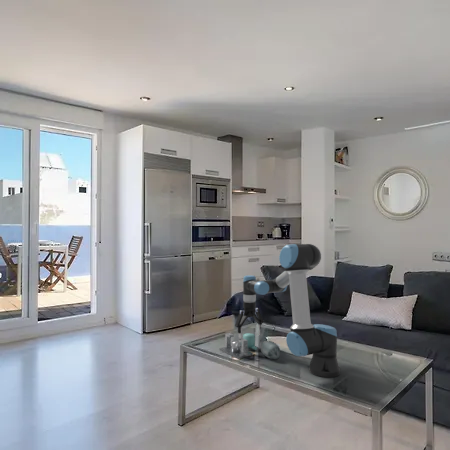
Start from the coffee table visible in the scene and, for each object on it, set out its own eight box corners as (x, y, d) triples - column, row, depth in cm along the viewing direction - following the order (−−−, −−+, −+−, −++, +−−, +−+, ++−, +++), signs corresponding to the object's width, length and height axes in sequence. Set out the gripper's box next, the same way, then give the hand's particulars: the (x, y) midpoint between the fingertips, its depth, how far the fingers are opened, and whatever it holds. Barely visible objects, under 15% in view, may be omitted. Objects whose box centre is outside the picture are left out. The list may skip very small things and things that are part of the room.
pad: (258, 348, 227) (258, 347, 227) (247, 350, 223) (247, 349, 223) (250, 344, 234) (250, 343, 234) (239, 346, 229) (239, 345, 229)
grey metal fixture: (253, 355, 215) (253, 339, 215) (237, 358, 208) (237, 342, 208) (234, 346, 229) (234, 331, 229) (219, 349, 223) (219, 334, 223)
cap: (260, 348, 225) (260, 336, 225) (251, 350, 221) (251, 338, 221) (246, 342, 236) (246, 331, 236) (237, 344, 231) (237, 333, 232)
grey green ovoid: (286, 354, 207) (276, 337, 208) (272, 363, 204) (262, 347, 205) (277, 352, 220) (268, 337, 221) (264, 361, 217) (255, 345, 218)
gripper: (261, 298, 239) (261, 332, 238) (229, 302, 224) (229, 338, 224) (269, 300, 232) (269, 335, 232) (236, 304, 218) (236, 341, 218)
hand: (249, 336), depth 228 cm, fingers open, 13 cm apart
